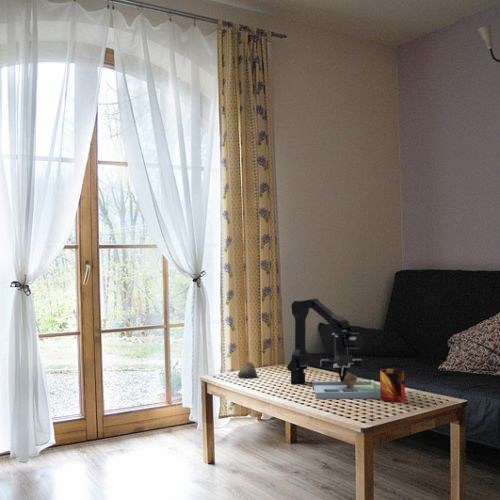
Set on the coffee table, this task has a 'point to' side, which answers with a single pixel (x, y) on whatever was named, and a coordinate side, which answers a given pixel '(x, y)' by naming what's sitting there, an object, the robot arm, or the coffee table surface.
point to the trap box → (345, 390)
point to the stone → (247, 371)
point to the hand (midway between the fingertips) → (341, 382)
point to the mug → (392, 385)
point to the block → (349, 379)
